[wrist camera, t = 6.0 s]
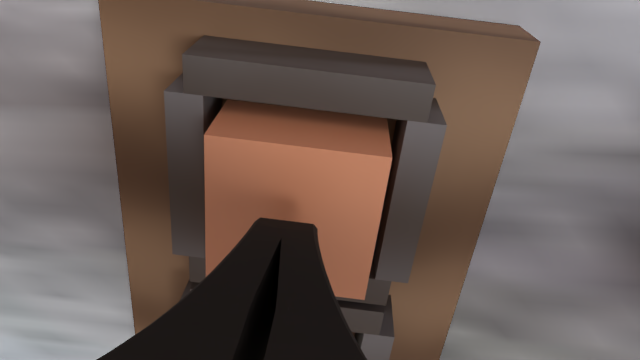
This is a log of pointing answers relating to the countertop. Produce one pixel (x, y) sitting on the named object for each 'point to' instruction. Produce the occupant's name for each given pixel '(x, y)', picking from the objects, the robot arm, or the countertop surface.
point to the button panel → (325, 95)
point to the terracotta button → (298, 182)
